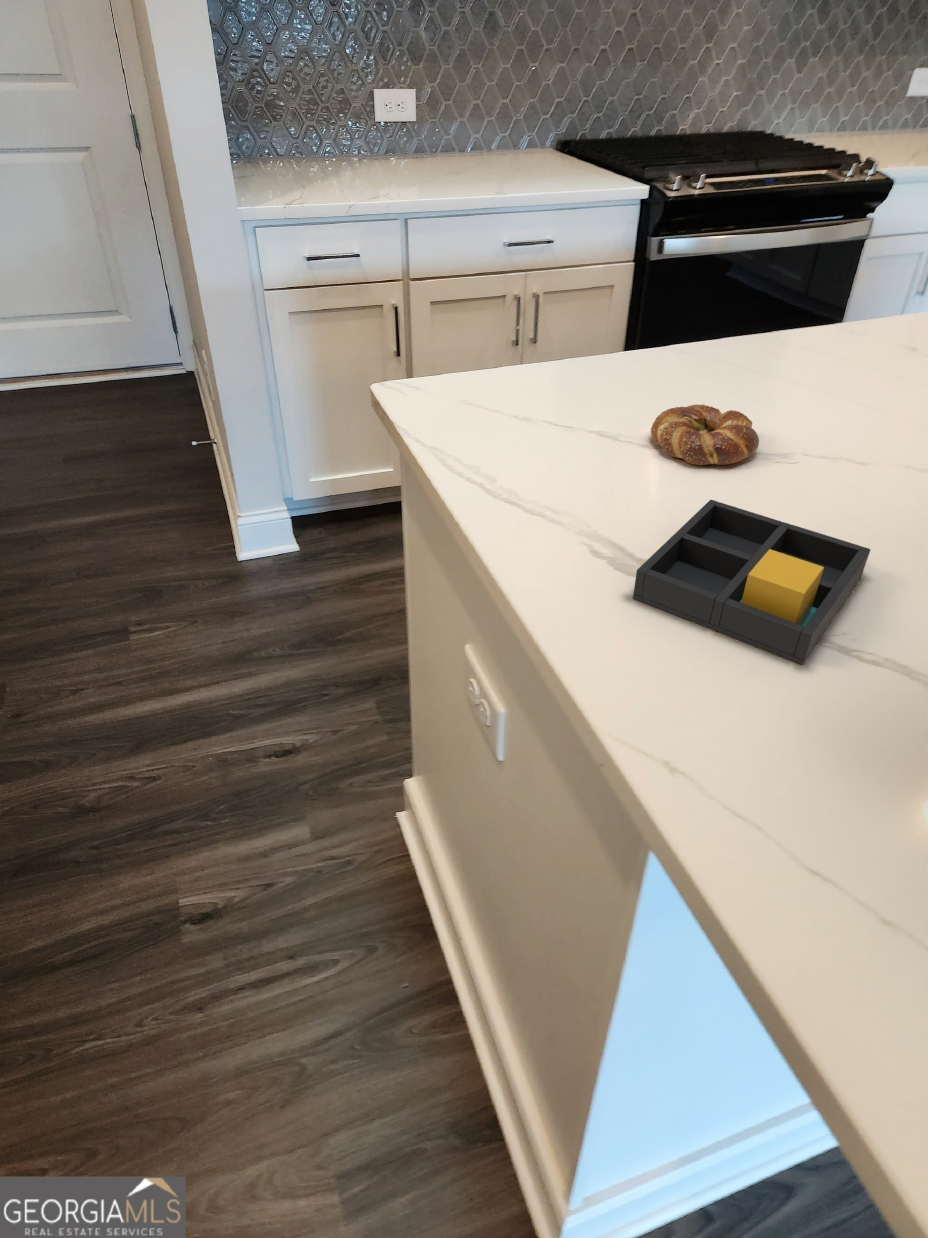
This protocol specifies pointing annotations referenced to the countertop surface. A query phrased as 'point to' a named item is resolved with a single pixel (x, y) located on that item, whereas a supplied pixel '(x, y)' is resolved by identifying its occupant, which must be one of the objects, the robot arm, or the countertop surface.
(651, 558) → the tray
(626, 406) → the countertop surface
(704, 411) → the pretzel
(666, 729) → the countertop surface
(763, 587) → the block
